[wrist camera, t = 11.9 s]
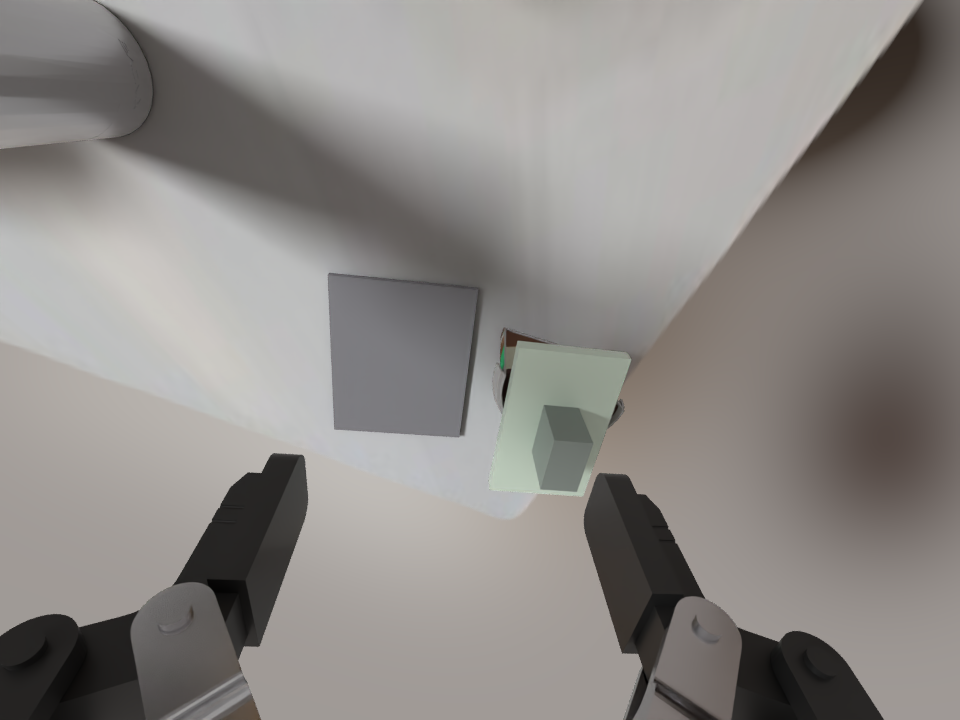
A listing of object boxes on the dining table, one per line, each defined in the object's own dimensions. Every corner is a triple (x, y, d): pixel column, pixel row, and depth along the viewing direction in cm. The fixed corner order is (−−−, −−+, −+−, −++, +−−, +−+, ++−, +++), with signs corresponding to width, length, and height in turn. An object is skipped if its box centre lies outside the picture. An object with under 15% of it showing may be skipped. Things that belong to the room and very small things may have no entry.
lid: (488, 480, 43) (493, 530, 38) (517, 340, 35) (527, 379, 30) (580, 487, 44) (596, 536, 39) (626, 352, 36) (653, 391, 31)
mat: (335, 426, 51) (334, 429, 50) (329, 273, 42) (327, 275, 41) (459, 433, 52) (459, 437, 52) (478, 287, 43) (478, 290, 43)
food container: (470, 372, 48) (473, 431, 40) (490, 323, 45) (498, 374, 37) (572, 401, 51) (597, 463, 42) (597, 356, 48) (629, 412, 39)
